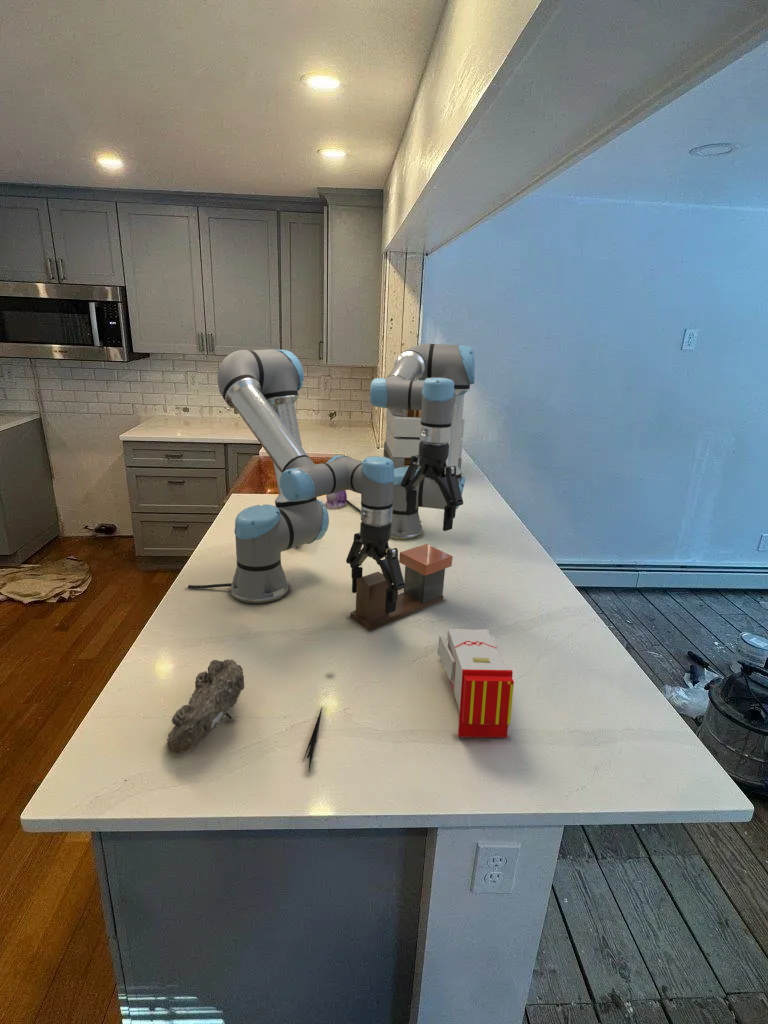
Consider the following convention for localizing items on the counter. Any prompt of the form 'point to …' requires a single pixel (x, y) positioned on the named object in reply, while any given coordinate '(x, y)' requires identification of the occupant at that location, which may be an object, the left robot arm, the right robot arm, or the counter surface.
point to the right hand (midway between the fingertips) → (428, 521)
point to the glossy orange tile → (425, 559)
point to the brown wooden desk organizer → (413, 599)
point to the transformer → (406, 436)
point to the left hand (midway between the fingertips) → (373, 601)
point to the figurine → (336, 499)
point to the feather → (313, 740)
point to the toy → (478, 682)
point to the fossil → (206, 705)
